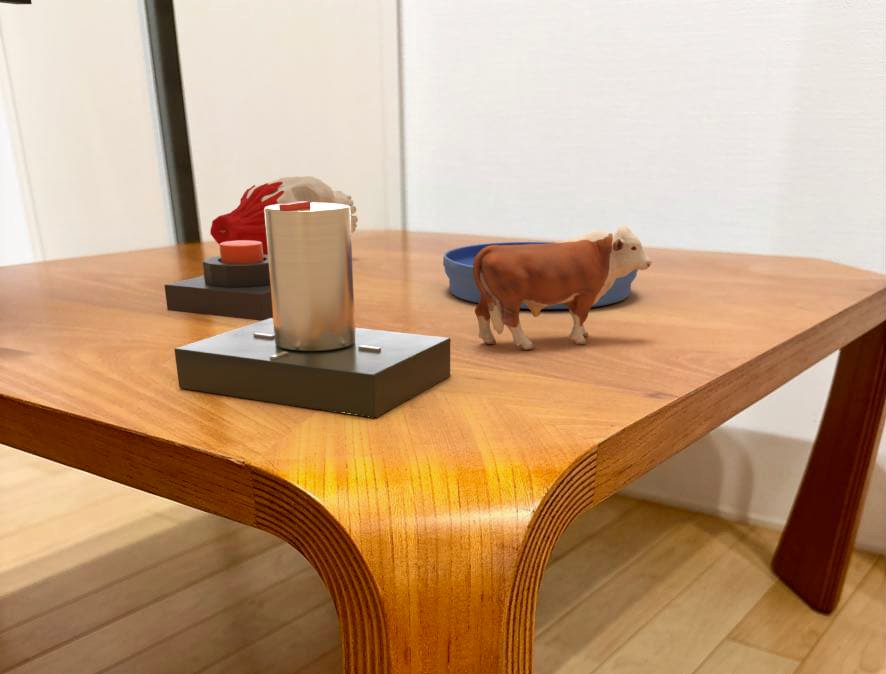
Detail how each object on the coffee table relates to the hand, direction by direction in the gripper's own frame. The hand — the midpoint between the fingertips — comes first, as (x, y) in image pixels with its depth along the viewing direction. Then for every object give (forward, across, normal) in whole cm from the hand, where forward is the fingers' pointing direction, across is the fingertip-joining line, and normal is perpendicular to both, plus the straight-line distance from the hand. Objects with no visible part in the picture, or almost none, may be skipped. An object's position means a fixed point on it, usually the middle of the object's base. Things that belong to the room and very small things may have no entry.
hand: (9, 2), depth 67 cm
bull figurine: (+22, +41, +8) cm, 47 cm away
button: (+19, +12, +9) cm, 24 cm away
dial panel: (+22, +31, -9) cm, 39 cm away
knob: (+19, +31, -9) cm, 37 cm away
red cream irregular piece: (+23, 0, +34) cm, 41 cm away
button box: (+23, +12, +9) cm, 27 cm away
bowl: (+22, +34, +26) cm, 48 cm away
